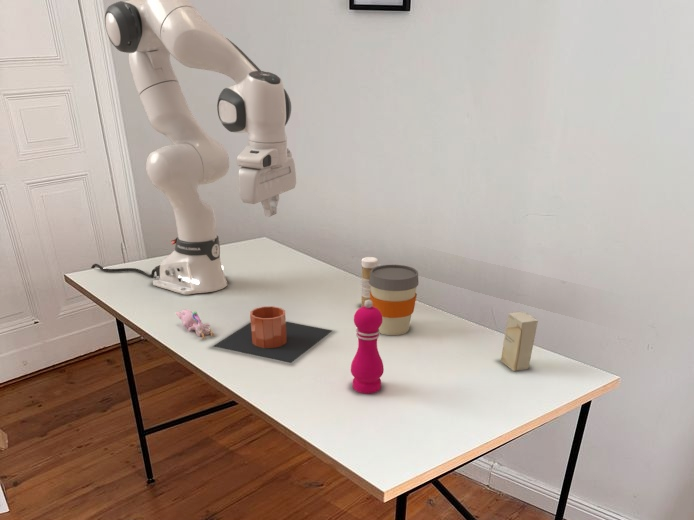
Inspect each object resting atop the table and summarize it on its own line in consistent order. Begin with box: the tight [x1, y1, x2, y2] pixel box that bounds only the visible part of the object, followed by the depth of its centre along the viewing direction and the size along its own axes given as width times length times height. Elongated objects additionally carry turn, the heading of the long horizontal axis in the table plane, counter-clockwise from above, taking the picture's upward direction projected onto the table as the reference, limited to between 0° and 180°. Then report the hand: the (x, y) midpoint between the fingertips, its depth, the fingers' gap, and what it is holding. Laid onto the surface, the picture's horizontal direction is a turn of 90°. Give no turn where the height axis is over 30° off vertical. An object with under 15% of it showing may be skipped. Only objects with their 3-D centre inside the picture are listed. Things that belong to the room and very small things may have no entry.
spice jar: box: [360, 256, 379, 307], centre depth 189 cm, size 5×5×13 cm
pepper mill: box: [350, 300, 385, 394], centre depth 146 cm, size 7×7×20 cm
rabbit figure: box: [175, 309, 215, 340], centre depth 176 cm, size 6×6×15 cm
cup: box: [249, 305, 287, 348], centre depth 169 cm, size 8×8×8 cm
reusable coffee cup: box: [369, 264, 419, 336], centre depth 176 cm, size 13×13×15 cm
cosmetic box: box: [500, 310, 539, 372], centre depth 159 cm, size 6×4×12 cm
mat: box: [213, 321, 333, 364], centre depth 173 cm, size 22×22×1 cm
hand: (270, 215), depth 167 cm, fingers closed
